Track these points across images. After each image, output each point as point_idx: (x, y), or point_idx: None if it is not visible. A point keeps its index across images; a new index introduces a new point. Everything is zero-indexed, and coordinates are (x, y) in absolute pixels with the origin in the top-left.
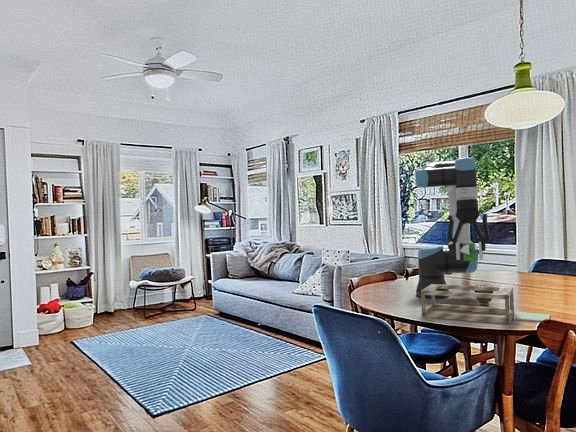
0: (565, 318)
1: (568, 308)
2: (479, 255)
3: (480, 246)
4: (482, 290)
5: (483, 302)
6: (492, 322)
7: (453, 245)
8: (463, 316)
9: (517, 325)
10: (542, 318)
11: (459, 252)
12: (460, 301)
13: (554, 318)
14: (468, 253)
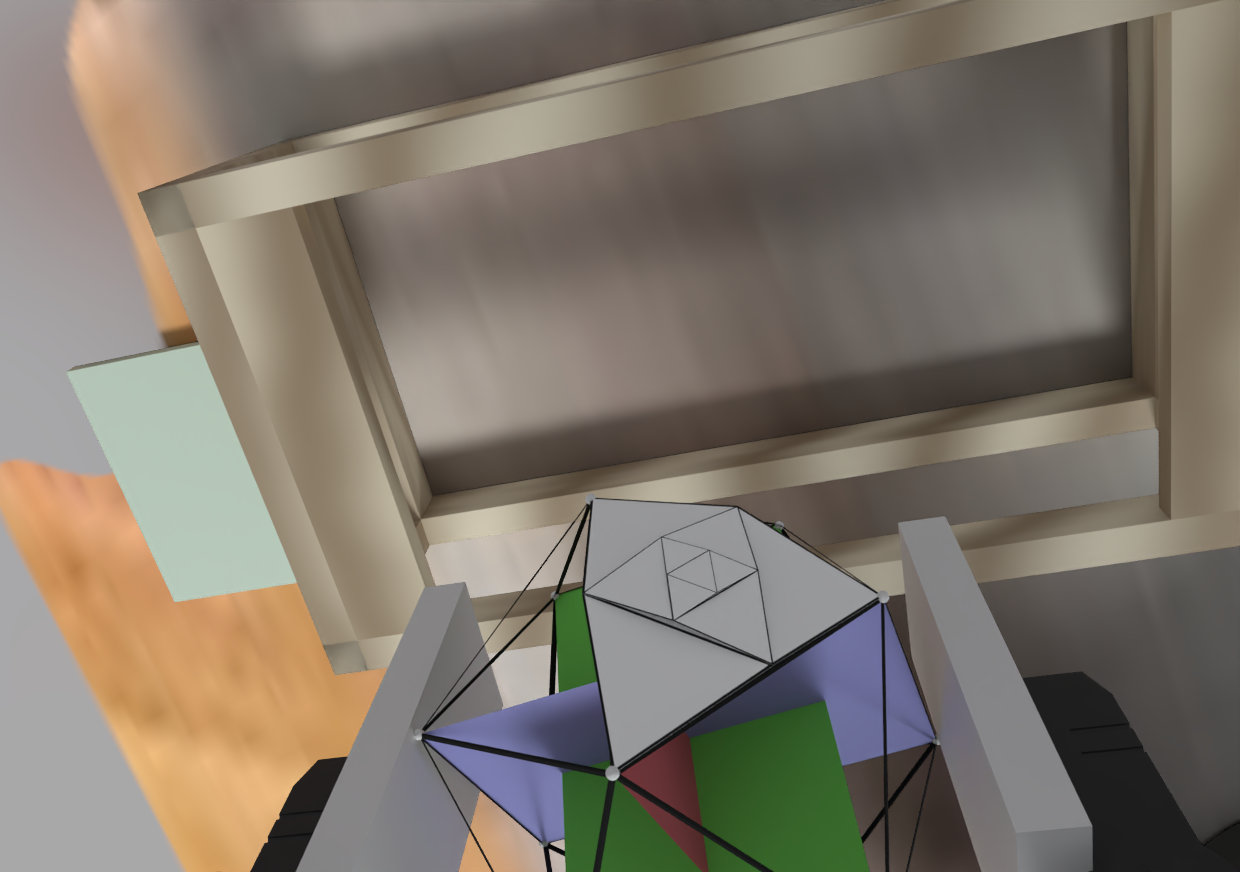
0: (65, 566)
1: (198, 862)
2: (439, 639)
3: (343, 803)
4: None
5: None
6: (425, 108)
7: (1152, 786)
8: (693, 47)
9: (211, 130)
10: (144, 432)
11: (942, 726)
12: None
13: (120, 530)
14: (614, 515)
